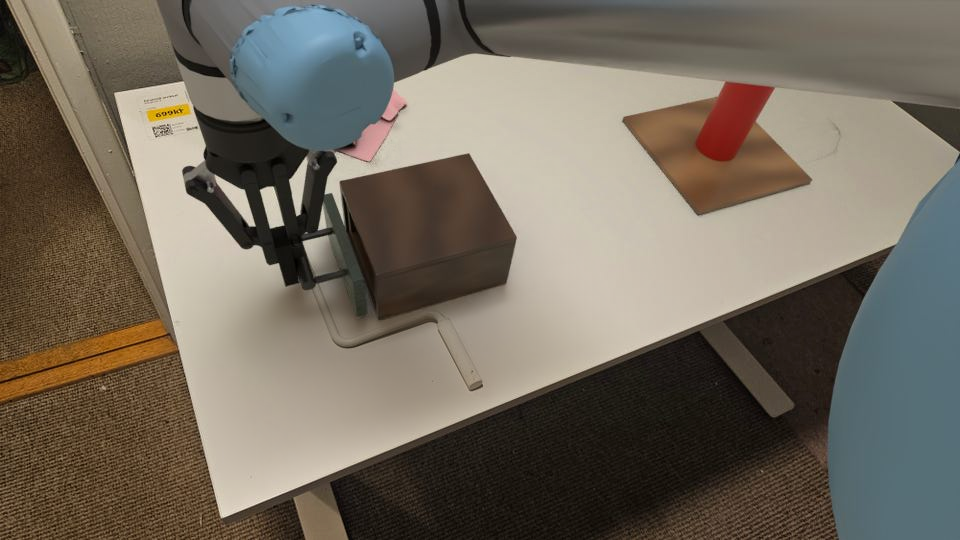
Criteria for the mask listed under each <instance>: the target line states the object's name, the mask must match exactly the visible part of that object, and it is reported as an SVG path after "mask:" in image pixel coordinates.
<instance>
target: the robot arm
mask: <svg viewBox="0 0 960 540" xmlns="http://www.w3.org/2000/svg"><path fill="white" fill-rule="evenodd" d="M155 1H156V4H157V7H158V10H159V13H160V15H161V18H162V21H163V24H164V27H165V30H166V32H167V35H168V39H169V40H170V43H171V47H172V49H173V52H174V58H175V61H176V64H177V66H178V67H177V68H178V70H179V72H180V73H179V74H180V75H181V78H182V81H183V84H184V87H185V89H186V92H187V95H188V98H189V100H190V102H191V105H192V108H193V112H194V115H195V119H196V121H197V124H198V127H199V130H200V132H201V135H202V136H201V137H202V138H203V142H204V144H205V147H204V150H203V155H202V156H203V159H204V160H203V161H202V162H201V163H199V164H198V165H197V166H193V165H186V166H184V167H183V168H182V169H181V170H182V171H181V173H182V178H183V182H184V188H185V193H186V194H187V195H188V196H190V197H192V198H194V199H195V200H197V201H199V202H201V203H202V204H204V205H205V206H206V207H207V208H208V210H209V211H210V212H211V213H212V215H214V217H215V218H216V219H217V220H218V222H219V223H220V225H222V227H223V228H224V229H225V230H226V231H227V232H228V234H230V236H231V237H232V238H233V240H234V241H235V242H236V244H237V245H238V246H239V247H240V248H241V249H242V250H251V249H252V248H254V246H258V247H260V248H261V250H262V252H263V256H264V259H265V263H266V264H267V265H268V266H273V265H279V269H280V272H281V276H282V280H283V282H284V286H285V287H286V288H287V287H290V286H294V285H298V284H300V281H299V278H298V274H297V270H296V266H295V262H294V259H296V258H300V257H303V255H304V250H303V246H302V244H304V241H302V238H301V236H302V235H303V234H305V233H315V232H316V231H317V230H319V227H320V222H321V218H322V217H321V216H322V210H323V200H324V194H326V188H327V184H328V183H327V182H328V177H329V175H330V174H331V172H332V171H333V170H334V169H335V166H336V165H337V163H338V159H337V155H336V154H335V150H333V149H337V148H341V147H344V146H346V145H349V144H351V143H353V142H355V141H356V140H358V139H359V138H361V136H362V132H363V131H364V130H365V129H366V128H367V127H368V126H369V125H370V124H376V123H377V122H378V121H379V120H380V118H381V117H382V115H383V114H384V112H385V110H386V108H387V106H388V104H389V102H390V99H391V96H392V92H393V90H394V87H395V83H397V82H400V81H402V80H405V79H407V78H410V77H412V76H415V75H418V74H420V73H421V72H424V71H428V70H429V69H432V68H434V67H437V66H440V65H443V64H446V63H448V62H451V61H453V60H456V59H458V58H461V57H464V56H469V55H475V54H476V55H484V56H494V57H503V58H512V57H513V58H520V59H529V60H535V61H536V60H537V61H544V62H545V61H546V62H555V63H563V64H572V65H581V66H588V67H595V68H596V67H597V68H606V69H612V70H613V69H614V70H621V71H631V72H641V73H648V74H657V75H665V76H674V77H684V78H691V79H692V78H693V79H699V80H708V81H716V82H724V83H725V82H733V83H742V84H751V85H759V86H768V87H775V89H776V88H778V89H785V90H795V91H804V92H812V93H821V94H827V95H828V94H829V95H830V94H831V95H838V96H845V97H854V98H863V99H871V100H872V99H873V100H879V101H880V100H881V101H887V102H888V101H889V102H896V103H897V102H898V103H907V104H916V105H921V106H922V105H924V106H931V107H941V108H947V109H948V108H949V109H950V108H951V109H959V110H960V0H155ZM305 159H306V162H307V163H306V170H305V176H304V184H303V189H302V190H303V191H302V197H301V204H300V211H299V214H298V215H297V212H296V208H295V204H294V198H293V192H292V186H291V182H290V180H291V179H292V178H294V176H295V174H296V173H297V171H298V170H299V168H300V166H301V165H302V163H303V162H304V161H305ZM216 177H218V178H220V179H222V180H223V181H225V182H227V183H229V184H231V185H233V186H234V187H235V188H238V189H240V190H242V191H243V190H244V193H245V196H246V200H247V204H248V206H249V209H250V213H251V215H252V219H253V222H254V226H253V225H249V223H248V222H247V220H246V219H245V218H244V216H243V215H242V214H241V212H239V210H238V209H237V207H236V206H235V205H234V203H233V202H232V200H230V198H229V197H228V195H226V193H225V192H224V190H223V189H222V188H221V187H220V185H219V184H218V182H217V178H216ZM266 188H274V191H275V196H276V199H277V203H278V207H279V211H280V216H281V219H282V224H283V225H279V226H275V227H271V226H270V223H269V218H268V215H267V212H266V207H265V205H264V200H263V196H262V192H261V190H263V189H266ZM917 203H918V204H917V205H916V207H915V209H914V210H913V212H912V215H911V216H910V218H909V220H908V222H907V224H906V226H905V228H904V229H903V231H902V233H901V234H900V236H899V238H898V241H897V243H896V244H895V245H894V247H893V248H892V250H891V251H890V253H889V254H888V256H887V258H886V259H885V260H884V262H883V264H882V265H881V266H880V268H879V269H878V271H877V273H876V275H875V277H874V279H873V280H872V282H871V284H870V286H869V288H868V290H867V292H866V293H865V295H864V297H863V299H862V301H861V304H860V306H859V308H858V311H857V313H856V314H855V316H854V317H855V318H854V319H853V322H852V324H851V327H850V330H849V332H848V336H847V339H846V341H845V345H844V348H843V350H842V353H841V357H840V359H839V362H838V366H837V371H836V376H835V380H834V384H833V389H832V395H831V402H830V408H829V415H828V424H827V447H826V448H827V449H826V450H827V472H828V474H827V475H828V487H829V494H830V501H831V507H832V513H833V518H834V523H835V528H836V534H837V538H838V540H960V152H959V154H958V156H957V158H956V160H955V162H954V163H953V166H952V167H951V168H949V170H948V171H947V172H946V173H945V174H944V175H943V177H941V178H940V179H939V181H938V182H936V184H935V185H934V186H933V187H932V188H931V189H929V191H928V192H927V193H926V194H925V195H924V196H923V198H921V200H919V201H918V202H917Z"/></svg>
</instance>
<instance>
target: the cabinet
mask: <svg viewBox="0 0 960 540" xmlns="http://www.w3.org/2000/svg"><path fill="white" fill-rule="evenodd" d="M338 183H339V190H340V191H339V192H340V199H341V208H342V215H343V223H344V226H345V229H346V232H347V234H348V237H349V240H350V242H351V245H352V248H353V250H354V253H355V256H356V258H357V261H358V264H359V266H360V269H361V272H362V274H363V277H364V283H365V289H366V290H367V293H368V296H369V299H370V301H371V304H372V307H373V309H374V312H375V316H376V318H377V320H378V321H382V320H383V321H384V320H387V319H389V318H393V317H398V316H400V315H403V314H406V313H410V312H414V311H416V310H417V311H418V310H420V309H423V308H424V309H425V308H428V307H431V306H433V305H438V304H441V303H444V302H448V301H451V300H455V299H458V298H461V297H465V296H468V295H472V294H475V293H478V292H482V291H486V290H488V289H492V288H496V287H500V286H503V285H505V284H507V283H508V278H509V274H510V270H511V266H512V261H513V257H514V253H515V248H516V243H517V239H518V236H517V235H516V233H515V231H514V229H513V228H512V225H511V224H510V222H509V221H508V218H507V217H506V215H505V214H504V212H503V210H502V208H501V206H500V205H499V203H498V201H497V199H496V198H495V196H494V194H493V192H492V191H491V189H490V187H489V185H488V184H487V182H486V180H485V178H484V177H483V175H482V173H481V171H480V170H479V168H478V167H477V164H476V162H475V161H474V159H473V156H471V154H470V152H467V153H463V154H458V155H453V156H449V157H444V158H439V159H435V160H431V161H425V162H422V163H417V164H416V163H415V164H412V165H408V166H402V167H398V168H394V169H393V168H392V169H389V170H383V171H379V172H375V173H369V174H367V175H362V176H357V177H353V178H348V179H343V180H339V182H338ZM347 206H348V209H349V211H350V214H351V216H352V219H353V221H354V224H355V227H356V229H357V232H358V234H359V237H360V240H361V242H362V245H363V247H364V250H365V253H366V255H367V258H368V260H369V263H370V265H371V268H372V271H373V273H374V284H375V298H376V300H375V298H374V295H373V292H372V290H371V287H370V284H369V282H368V279H367V277H366V274H365V271H364V269H363V266H362V263H361V261H360V258H359V255H358V253H357V250H356V247H355V245H354V242H353V239H352V237H351V234H350V230H349V221H348V212H347Z"/></svg>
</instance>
